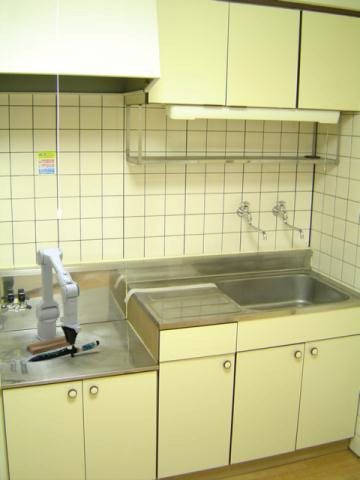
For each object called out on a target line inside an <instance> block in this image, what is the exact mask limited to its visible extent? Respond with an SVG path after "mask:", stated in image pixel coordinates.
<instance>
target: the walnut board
mask: <svg viewBox="0 0 360 480" xmlns="http://www.w3.org/2000/svg"><path fill="white" fill-rule="evenodd" d="M72 345H74V344H72ZM72 345H70V344H69V342H68V343H67V341H66V338H65V335H62V336H58V337H57V338H53V339H49V340H45V341H41V340H40V341H37V342H33V343H29V344H26V350H27V351H28V352H29V353H30V354H32V355H33V356H34V355H35V356H36V355H40V354H43V353H47V352H50V351H52V350H54V351H55V350H56V349H57V348H58V349H62V348H65V347H68V346H72Z"/></svg>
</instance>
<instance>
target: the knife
mask: <svg viewBox="0 0 360 480" xmlns="http://www.w3.org/2000/svg"><path fill="white" fill-rule="evenodd" d="M100 344H101V343H100V340H94V341H92V342H88V343H86V344H83V345H80V346H77V347H76V346H75V344H73V345H71V348H68V346H65V347H63V348H60V349H59V350H54V351H51V352H50V351H49V352H43V353H39V354H36V355H35V356H33V357H31V358H29V359H28V362H30V363H31V362H33V363H34V362H41V361H47V360H52V359H58V358H60V357H61V358H62V357H65V356H68V355H70V356H71V357H72V358H74V356H75V354H79V353H82V352H86V351H90V350H92V349H94V350H95V349H96V348H98V346H99V345H100Z"/></svg>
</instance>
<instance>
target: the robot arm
mask: <svg viewBox="0 0 360 480" xmlns="http://www.w3.org/2000/svg"><path fill="white" fill-rule="evenodd" d="M63 255H64V254H63V250H62V248H61V247H58V246H57V247H52V248H51V247H50V248H39V249H38V250H37V253H36V262H37V266H40V269H41V292H42V293H41V294H42V296H41V297H42V299H41V300H40V301H39V302H38V303H37V304H36V308H35V317H36V320H37V323H36V329H37V334H35V337H36V338H37V339H39V340H40V341H45V340H49V339H53V338H57V337H59V335H57V321H58V318H59V320H60V327H61V330H62V331H63V333H64V336H65V338H66V341H67V343H68V342H69V344H70V345H69V346H72V344H73V345H76V340H77V336H78V335H79V333H81V332H82V326H81V325H80V323H79V321H78V297H80V294H81V293H80V291H81V290H80V285H79V283H78V282H76V281H74V280H73V277H72V276H71V275H70V272H69V271H67V270H66V269H65V267H64V264H63V261H62V260H63ZM53 270H54V272H55V274H56V276H55V278H56V281H57V283H58V285H59V287H60V295H61V302H62V304H63V306H62V308H63V309H62V310H63V311H62V313H63V314H62V315H63V316H61V308H60V305H59V304H60V303H59V302H58V301H57V300H55V299H54V281H53V279H54V278H53V274H54V272H53ZM60 316H61V317H60Z"/></svg>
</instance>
